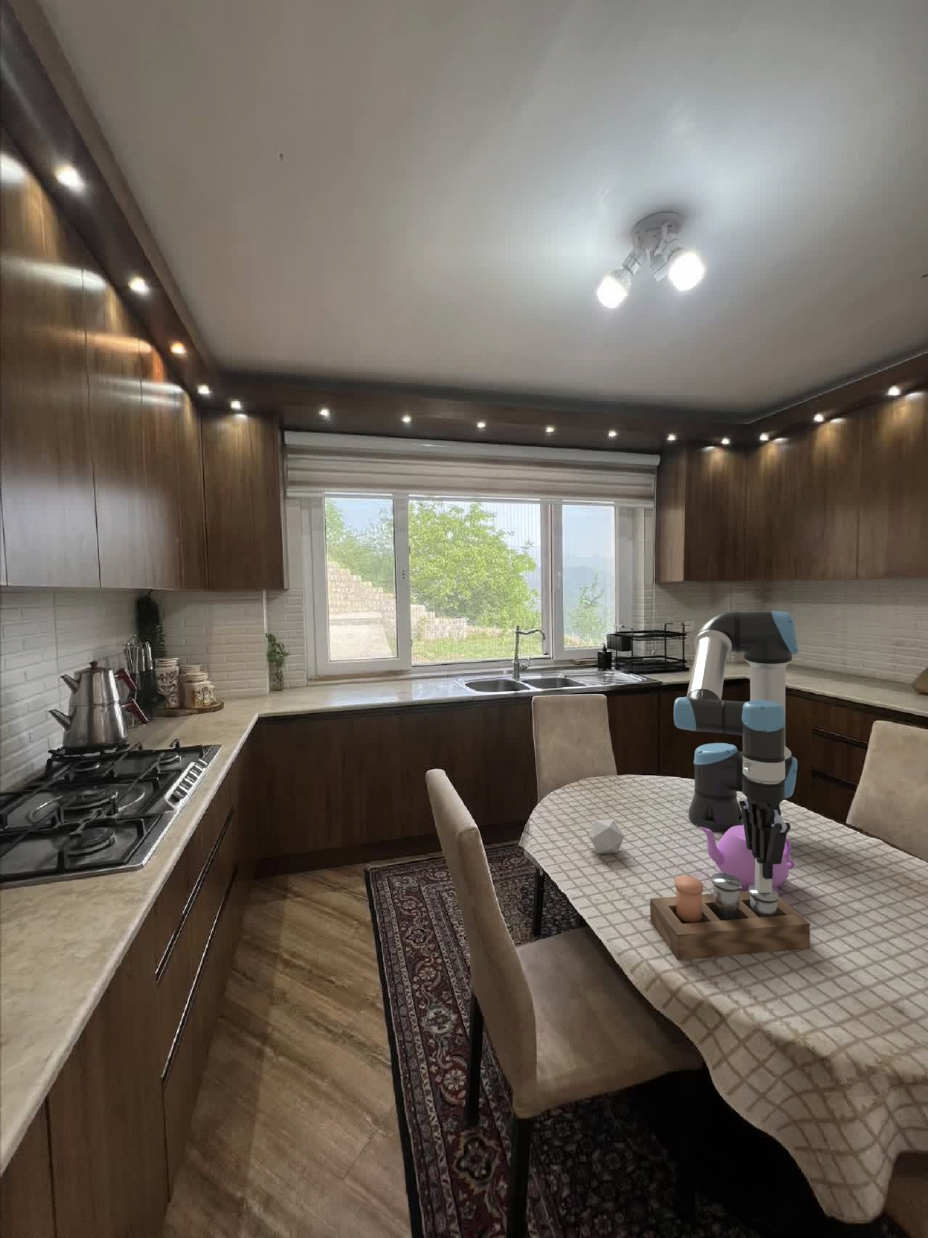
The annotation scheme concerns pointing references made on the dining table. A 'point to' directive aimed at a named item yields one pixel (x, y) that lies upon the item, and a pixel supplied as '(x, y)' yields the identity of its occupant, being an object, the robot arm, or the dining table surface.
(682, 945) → the wooden compartment tray
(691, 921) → the peach plug
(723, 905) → the grey plug mid
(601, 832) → the die
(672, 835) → the dining table surface
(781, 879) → the teapot
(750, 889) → the grey plug near
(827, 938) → the dining table surface
